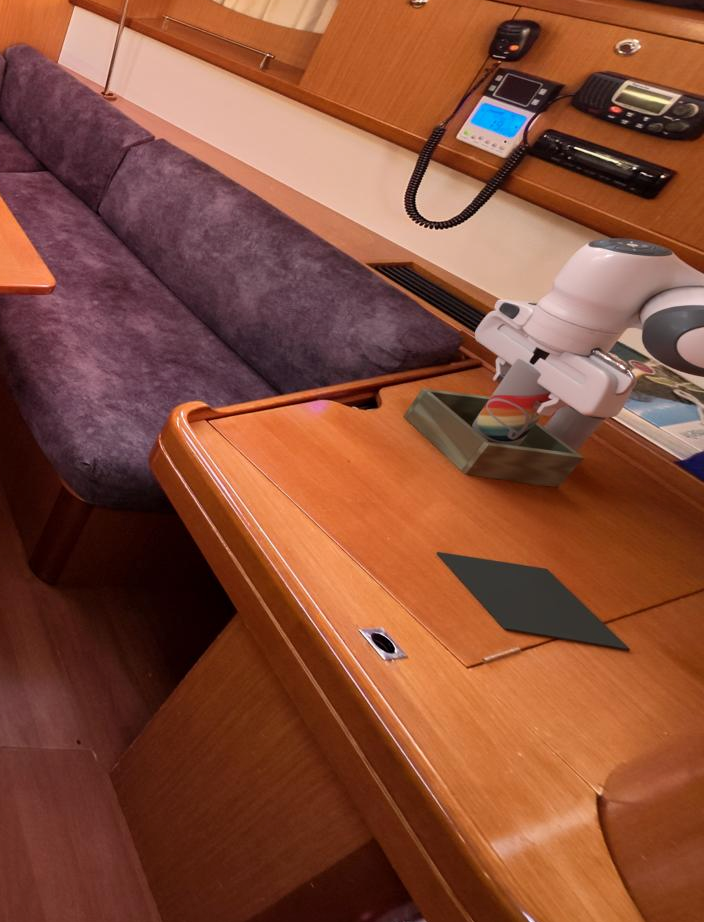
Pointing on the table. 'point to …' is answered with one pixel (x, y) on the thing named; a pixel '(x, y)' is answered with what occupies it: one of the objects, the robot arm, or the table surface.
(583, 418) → the planter
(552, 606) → the mat
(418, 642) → the table surface
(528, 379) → the striped water bottle
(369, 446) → the table surface
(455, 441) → the basket
